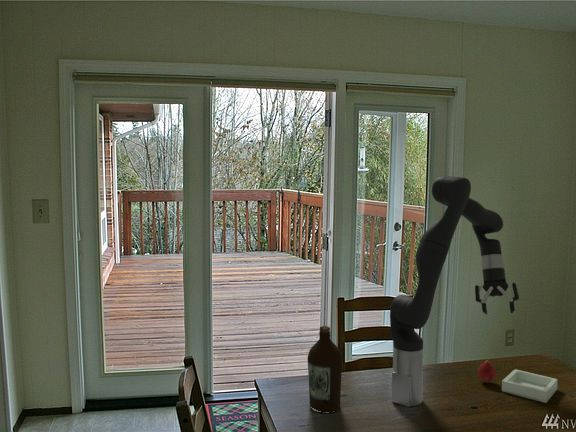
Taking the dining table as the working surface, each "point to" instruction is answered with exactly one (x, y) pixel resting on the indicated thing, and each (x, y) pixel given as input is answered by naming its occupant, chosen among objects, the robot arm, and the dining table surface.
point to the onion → (486, 372)
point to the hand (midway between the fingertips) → (498, 313)
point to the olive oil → (325, 373)
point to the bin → (529, 385)
